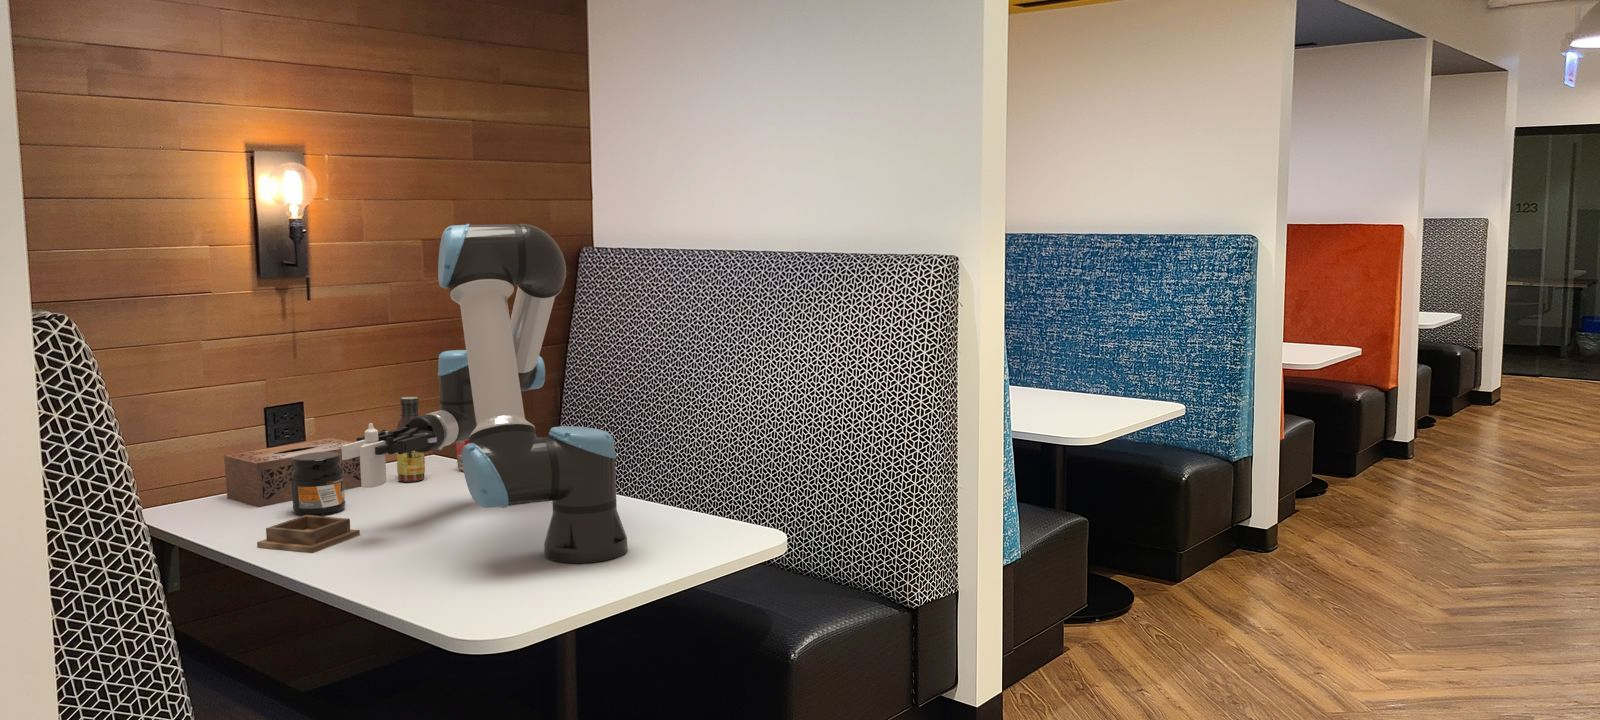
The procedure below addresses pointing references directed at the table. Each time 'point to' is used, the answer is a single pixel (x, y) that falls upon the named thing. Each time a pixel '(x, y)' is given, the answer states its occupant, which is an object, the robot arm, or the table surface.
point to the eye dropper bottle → (372, 463)
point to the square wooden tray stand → (308, 534)
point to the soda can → (460, 453)
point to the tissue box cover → (278, 472)
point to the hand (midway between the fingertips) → (352, 453)
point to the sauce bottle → (411, 462)
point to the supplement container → (317, 484)
